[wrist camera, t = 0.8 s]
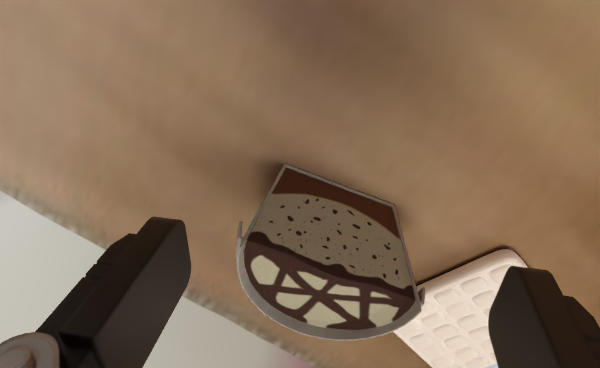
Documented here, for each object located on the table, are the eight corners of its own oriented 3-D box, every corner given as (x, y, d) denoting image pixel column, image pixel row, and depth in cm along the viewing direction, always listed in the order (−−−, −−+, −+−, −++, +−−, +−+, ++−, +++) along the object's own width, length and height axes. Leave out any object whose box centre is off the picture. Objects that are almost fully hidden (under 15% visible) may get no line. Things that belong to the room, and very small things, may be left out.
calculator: (508, 240, 32) (516, 257, 30) (607, 367, 38) (618, 385, 37) (373, 302, 38) (373, 318, 36) (479, 402, 44) (484, 419, 43)
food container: (245, 213, 34) (207, 308, 25) (266, 156, 30) (230, 243, 22) (377, 261, 35) (382, 367, 26) (411, 211, 31) (430, 314, 23)
